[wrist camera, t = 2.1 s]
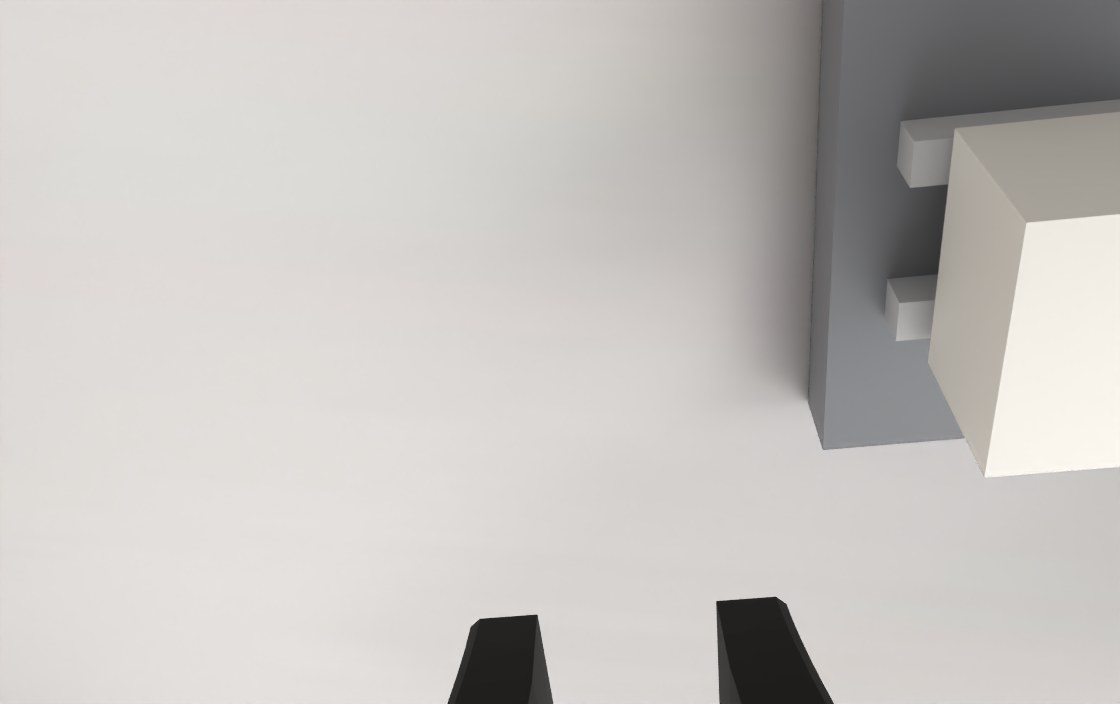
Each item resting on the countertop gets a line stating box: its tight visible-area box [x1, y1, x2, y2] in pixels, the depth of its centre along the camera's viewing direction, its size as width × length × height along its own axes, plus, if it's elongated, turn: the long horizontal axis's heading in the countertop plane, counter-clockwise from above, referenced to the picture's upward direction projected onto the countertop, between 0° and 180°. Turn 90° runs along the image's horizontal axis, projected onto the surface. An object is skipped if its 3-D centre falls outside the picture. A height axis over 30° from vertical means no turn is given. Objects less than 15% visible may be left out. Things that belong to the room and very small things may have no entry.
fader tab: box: [928, 112, 1120, 478], centre depth 16 cm, size 4×4×4 cm
